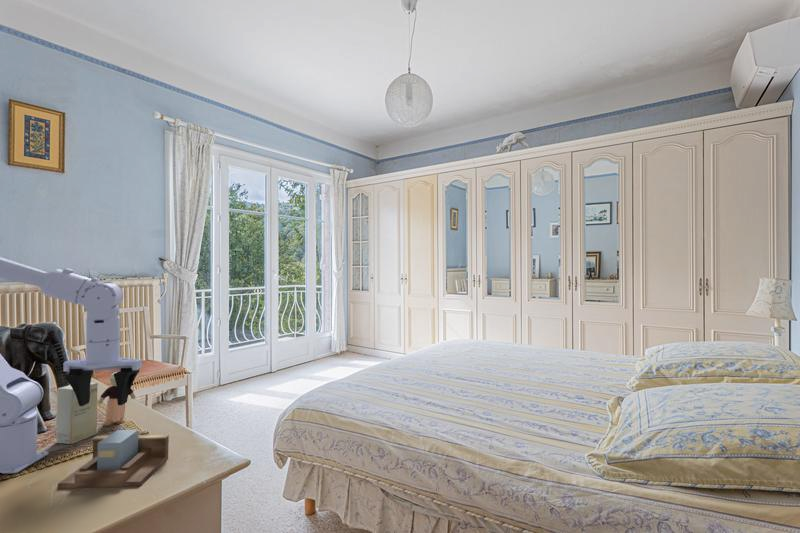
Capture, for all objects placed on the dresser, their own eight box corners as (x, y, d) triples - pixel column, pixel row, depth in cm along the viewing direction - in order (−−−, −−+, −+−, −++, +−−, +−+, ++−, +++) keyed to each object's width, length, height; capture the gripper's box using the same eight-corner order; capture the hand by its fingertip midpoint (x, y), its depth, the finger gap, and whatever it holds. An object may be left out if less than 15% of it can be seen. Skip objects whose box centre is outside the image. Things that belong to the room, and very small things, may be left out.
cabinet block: (94, 477, 74) (94, 445, 74) (116, 459, 81) (117, 429, 81) (117, 477, 74) (117, 444, 74) (137, 459, 81) (138, 429, 81)
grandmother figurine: (98, 428, 97) (99, 376, 97) (97, 423, 100) (98, 372, 100) (136, 420, 103) (137, 371, 103) (133, 416, 106) (134, 368, 105)
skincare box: (71, 445, 88) (72, 389, 88) (54, 443, 89) (55, 388, 89) (97, 433, 95) (98, 382, 95) (82, 431, 96) (83, 380, 95)
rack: (57, 488, 72) (58, 460, 72) (96, 459, 82) (97, 435, 82) (140, 486, 73) (140, 459, 73) (168, 458, 83) (168, 434, 83)
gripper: (51, 344, 80) (51, 411, 80) (128, 343, 82) (128, 410, 82) (77, 337, 87) (77, 399, 87) (147, 336, 89) (147, 398, 89)
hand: (103, 404), depth 85 cm, fingers open, 7 cm apart
